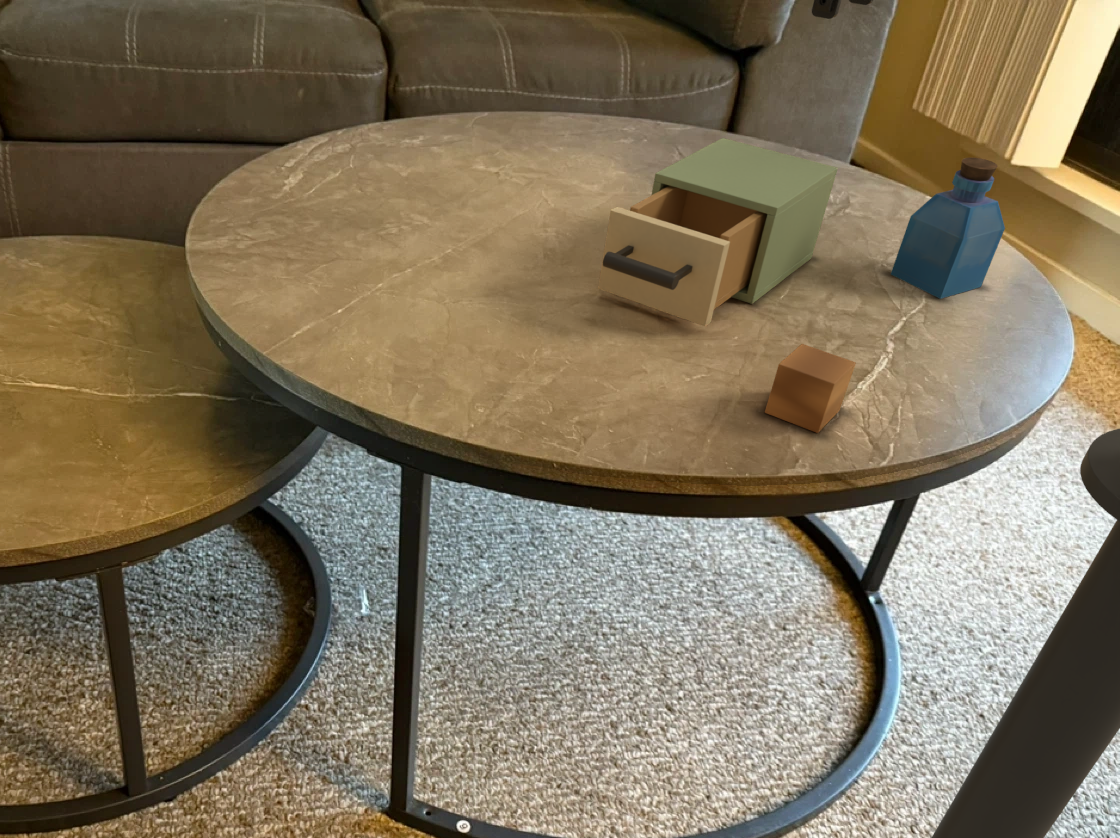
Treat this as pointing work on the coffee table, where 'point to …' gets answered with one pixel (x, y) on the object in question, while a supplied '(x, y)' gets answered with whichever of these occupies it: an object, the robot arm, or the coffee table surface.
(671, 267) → the drawer
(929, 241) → the perfume bottle
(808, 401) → the block
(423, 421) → the coffee table surface
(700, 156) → the cabinet
